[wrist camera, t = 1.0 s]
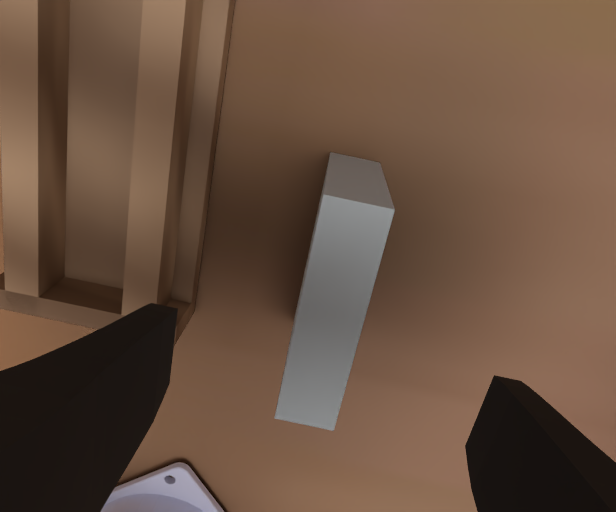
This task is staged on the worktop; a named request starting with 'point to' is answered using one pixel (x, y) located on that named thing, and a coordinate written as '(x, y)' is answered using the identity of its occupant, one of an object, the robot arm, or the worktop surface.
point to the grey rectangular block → (335, 290)
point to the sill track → (108, 153)
